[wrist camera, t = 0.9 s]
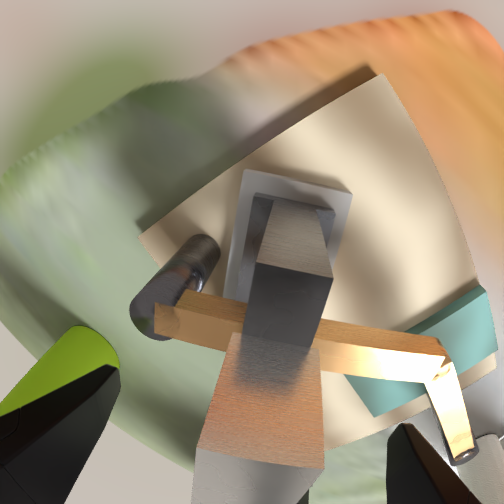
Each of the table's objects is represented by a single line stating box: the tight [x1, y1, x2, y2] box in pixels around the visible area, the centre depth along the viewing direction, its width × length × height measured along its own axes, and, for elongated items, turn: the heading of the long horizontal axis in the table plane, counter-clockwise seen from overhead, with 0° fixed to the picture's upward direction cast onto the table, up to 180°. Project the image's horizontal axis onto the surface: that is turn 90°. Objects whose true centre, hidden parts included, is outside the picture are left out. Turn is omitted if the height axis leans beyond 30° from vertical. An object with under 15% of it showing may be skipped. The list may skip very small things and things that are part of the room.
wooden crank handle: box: [129, 234, 479, 466], centre depth 15 cm, size 6×23×7 cm, turn 59°
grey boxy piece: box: [191, 192, 336, 504], centre depth 12 cm, size 4×8×12 cm, turn 170°
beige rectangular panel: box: [137, 73, 498, 451], centre depth 19 cm, size 17×24×2 cm
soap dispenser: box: [0, 326, 120, 416], centre depth 15 cm, size 6×7×20 cm
